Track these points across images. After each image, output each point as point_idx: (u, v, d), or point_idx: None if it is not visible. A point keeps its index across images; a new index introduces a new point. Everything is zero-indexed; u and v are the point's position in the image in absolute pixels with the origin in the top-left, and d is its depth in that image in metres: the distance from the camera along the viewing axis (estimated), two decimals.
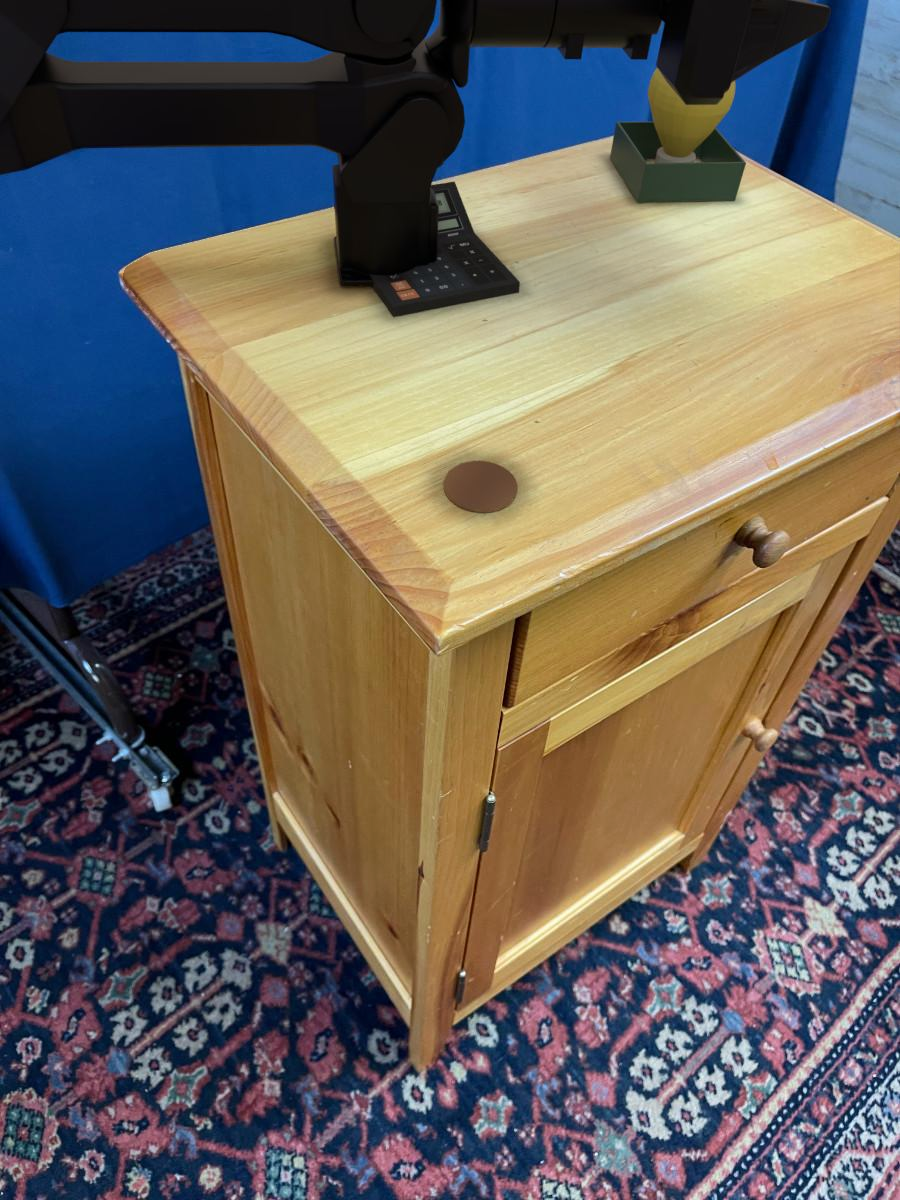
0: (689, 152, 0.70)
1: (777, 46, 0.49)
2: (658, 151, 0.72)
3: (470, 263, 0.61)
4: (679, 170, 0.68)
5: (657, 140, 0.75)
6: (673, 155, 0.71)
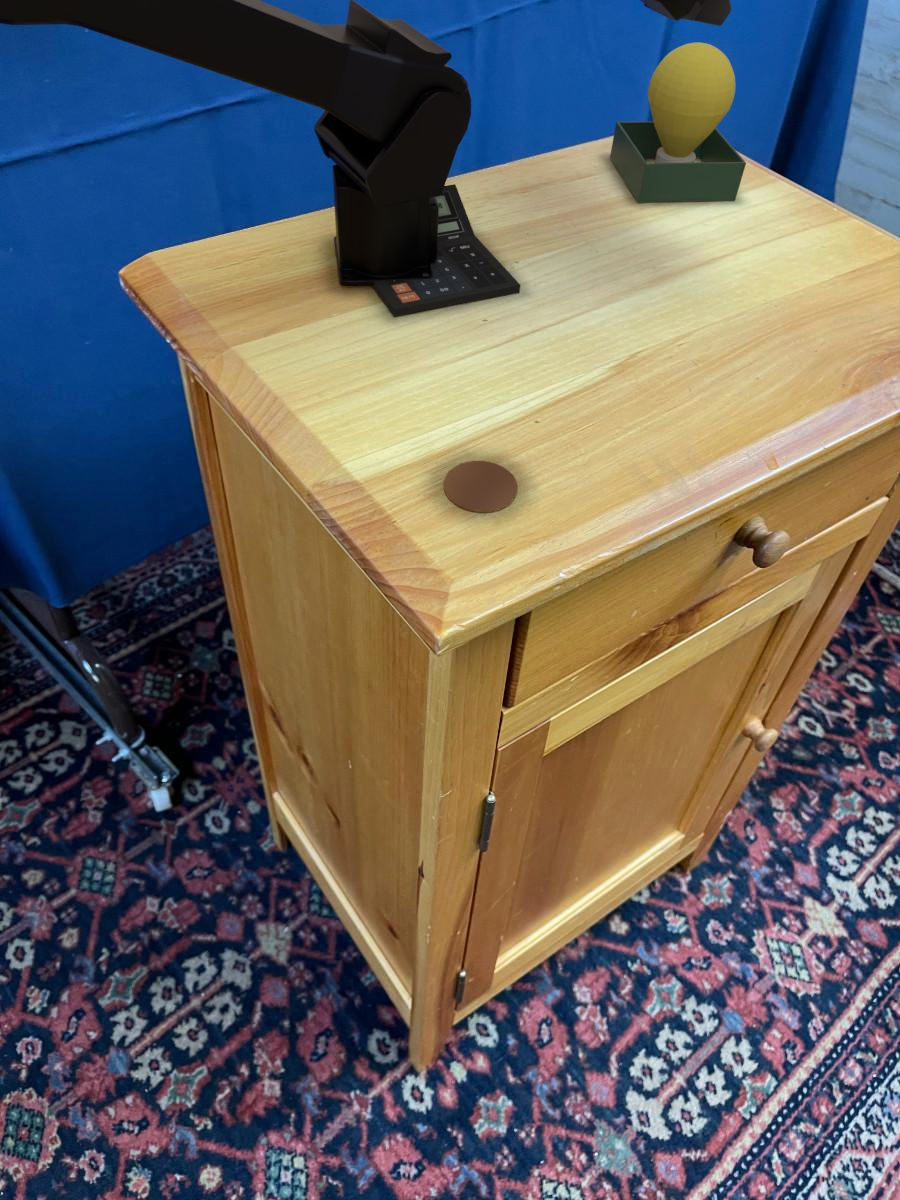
0: (689, 152, 0.70)
1: (700, 12, 0.54)
2: (658, 151, 0.72)
3: (471, 266, 0.61)
4: (679, 170, 0.68)
5: (657, 140, 0.75)
6: (673, 155, 0.71)
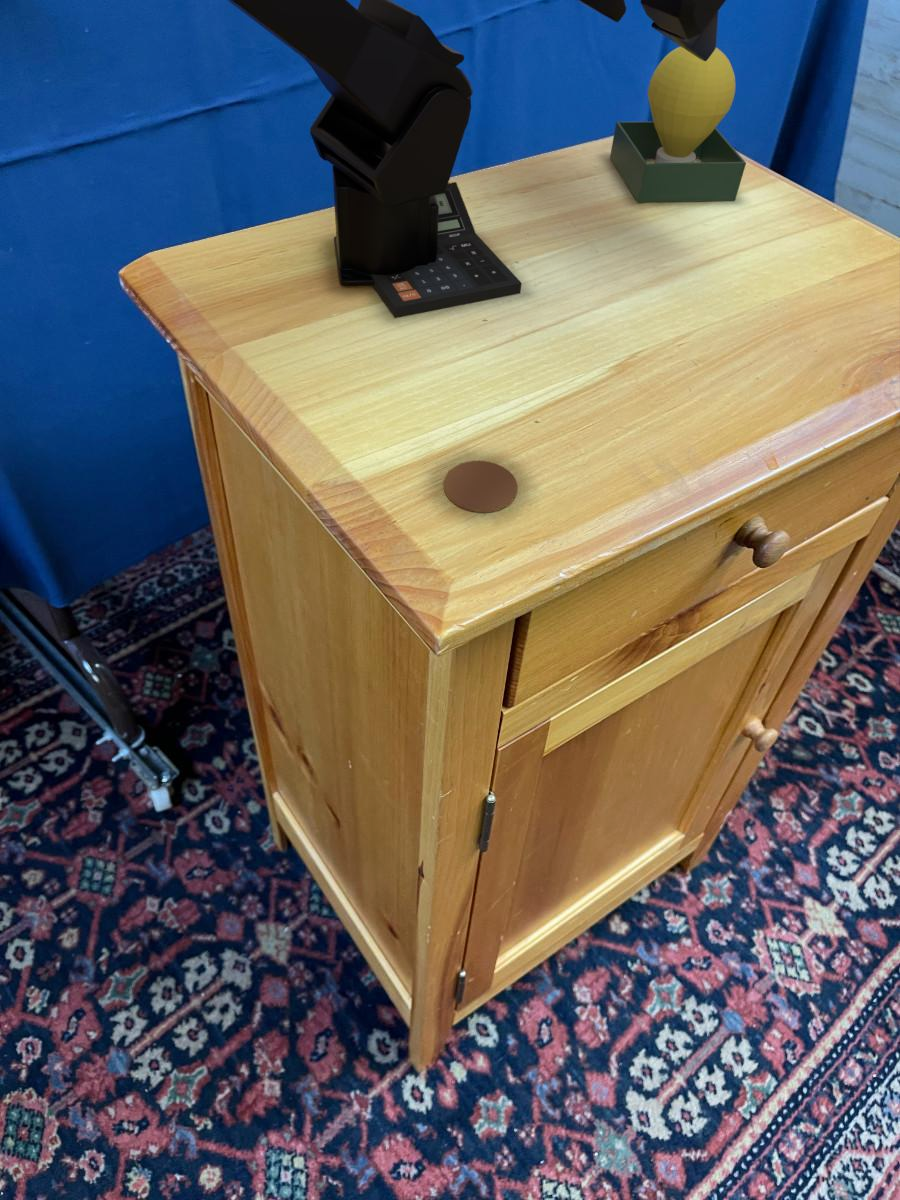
0: (689, 152, 0.70)
1: (695, 42, 0.58)
2: (658, 151, 0.72)
3: (472, 264, 0.61)
4: (679, 170, 0.68)
5: (657, 140, 0.75)
6: (673, 155, 0.71)
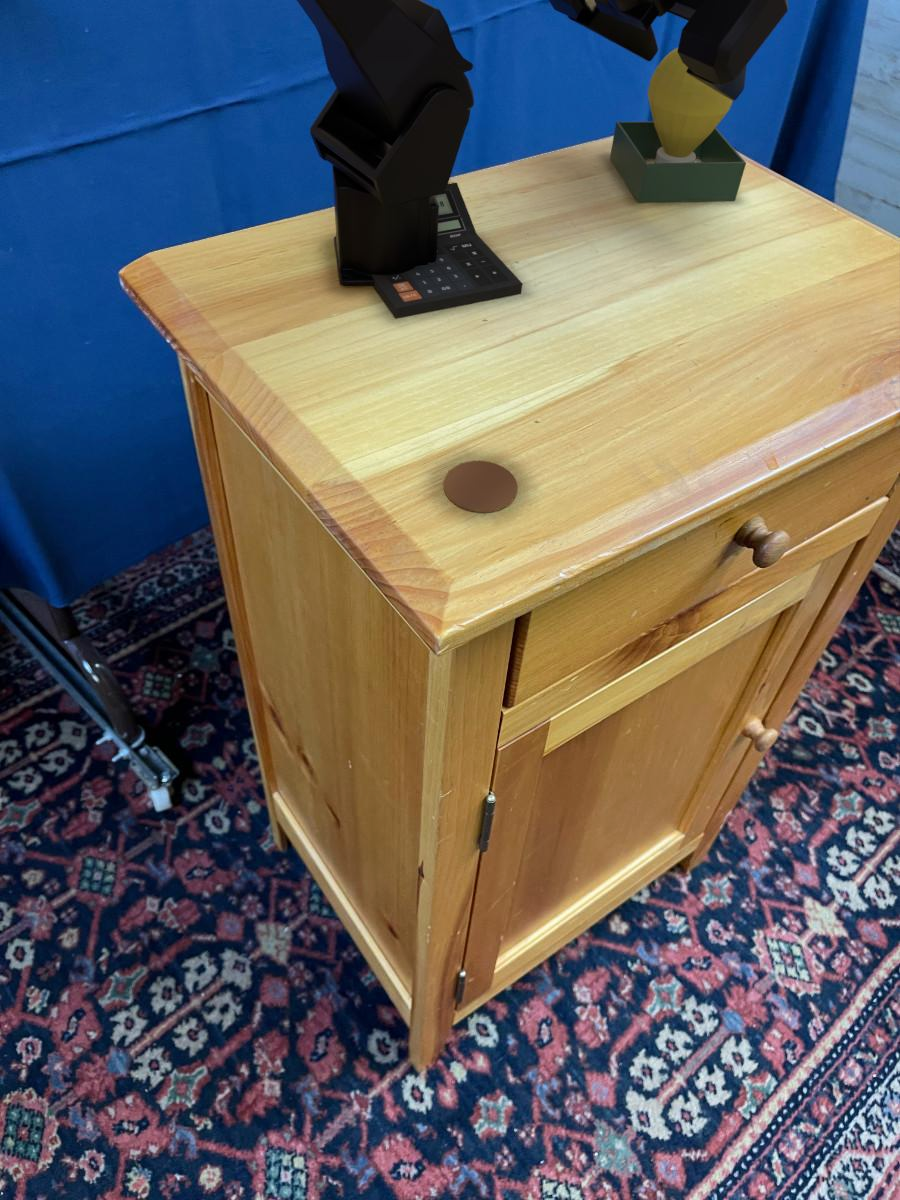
0: (689, 152, 0.70)
1: (726, 85, 0.62)
2: (658, 151, 0.72)
3: (472, 264, 0.61)
4: (679, 170, 0.68)
5: (657, 140, 0.75)
6: (673, 155, 0.71)
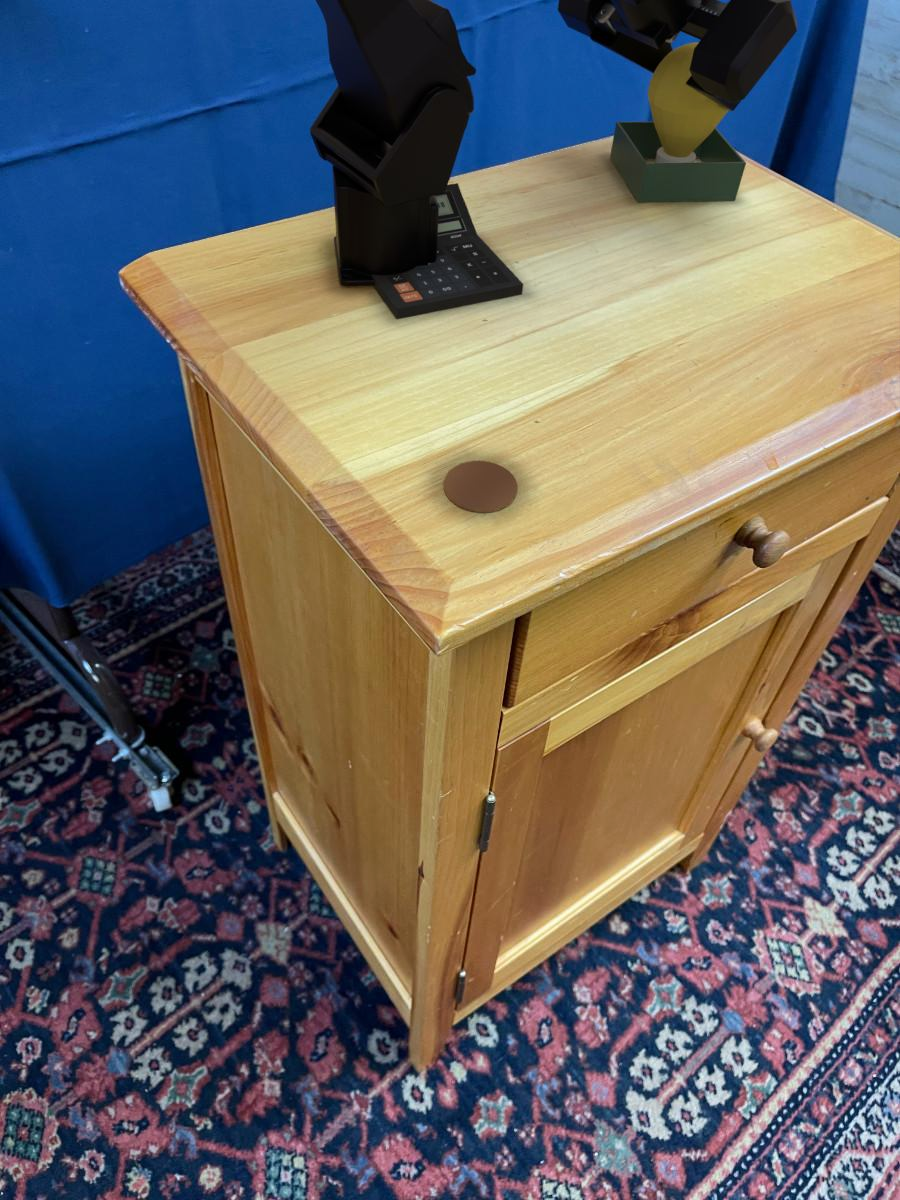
0: (689, 152, 0.70)
1: None
2: (658, 151, 0.72)
3: (473, 265, 0.61)
4: (679, 170, 0.68)
5: (657, 140, 0.75)
6: (673, 154, 0.71)
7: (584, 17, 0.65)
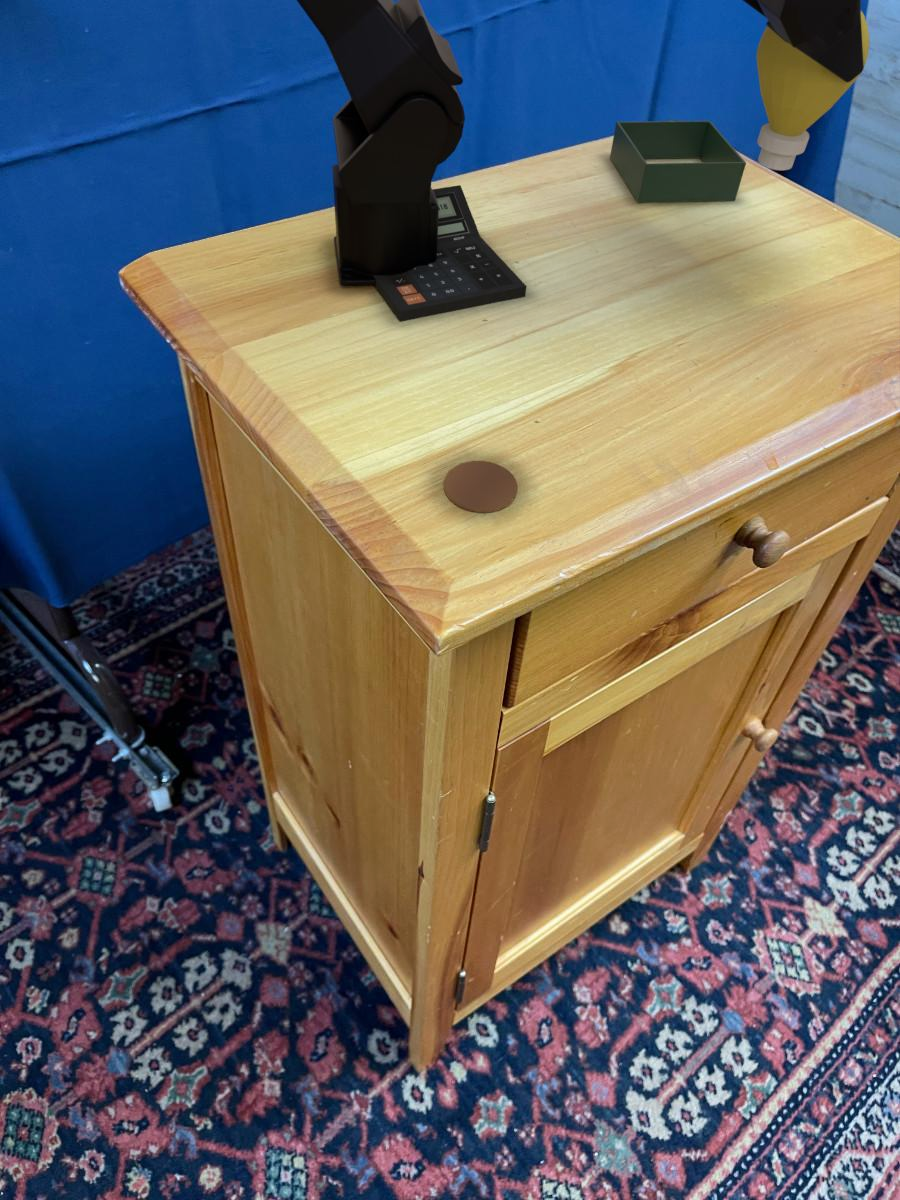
0: (794, 129, 0.57)
1: (825, 55, 0.51)
2: (764, 125, 0.59)
3: (476, 267, 0.61)
4: (679, 170, 0.68)
5: (657, 140, 0.75)
6: (775, 130, 0.58)
7: None
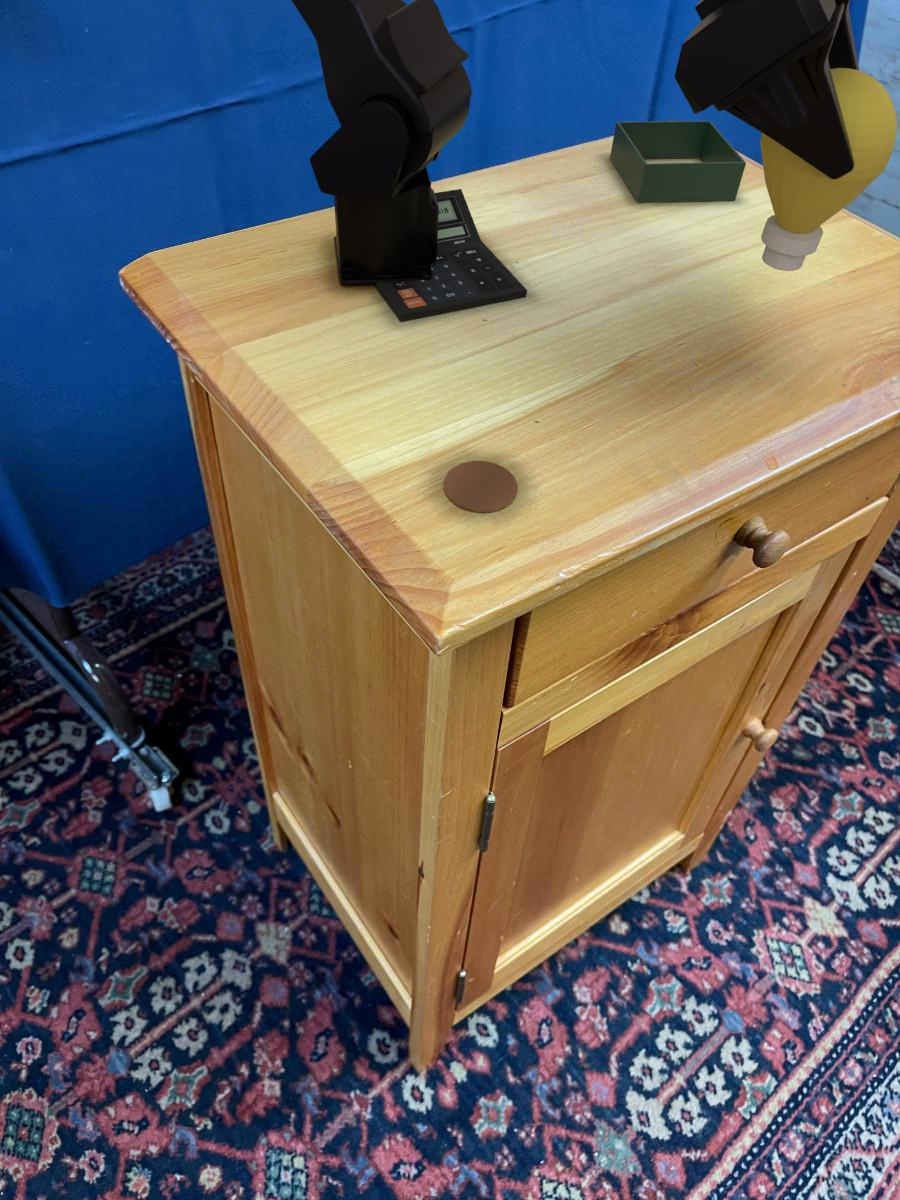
0: (792, 225, 0.48)
1: (791, 139, 0.42)
2: None
3: (477, 271, 0.61)
4: (679, 170, 0.68)
5: (657, 140, 0.75)
6: (777, 221, 0.49)
7: None
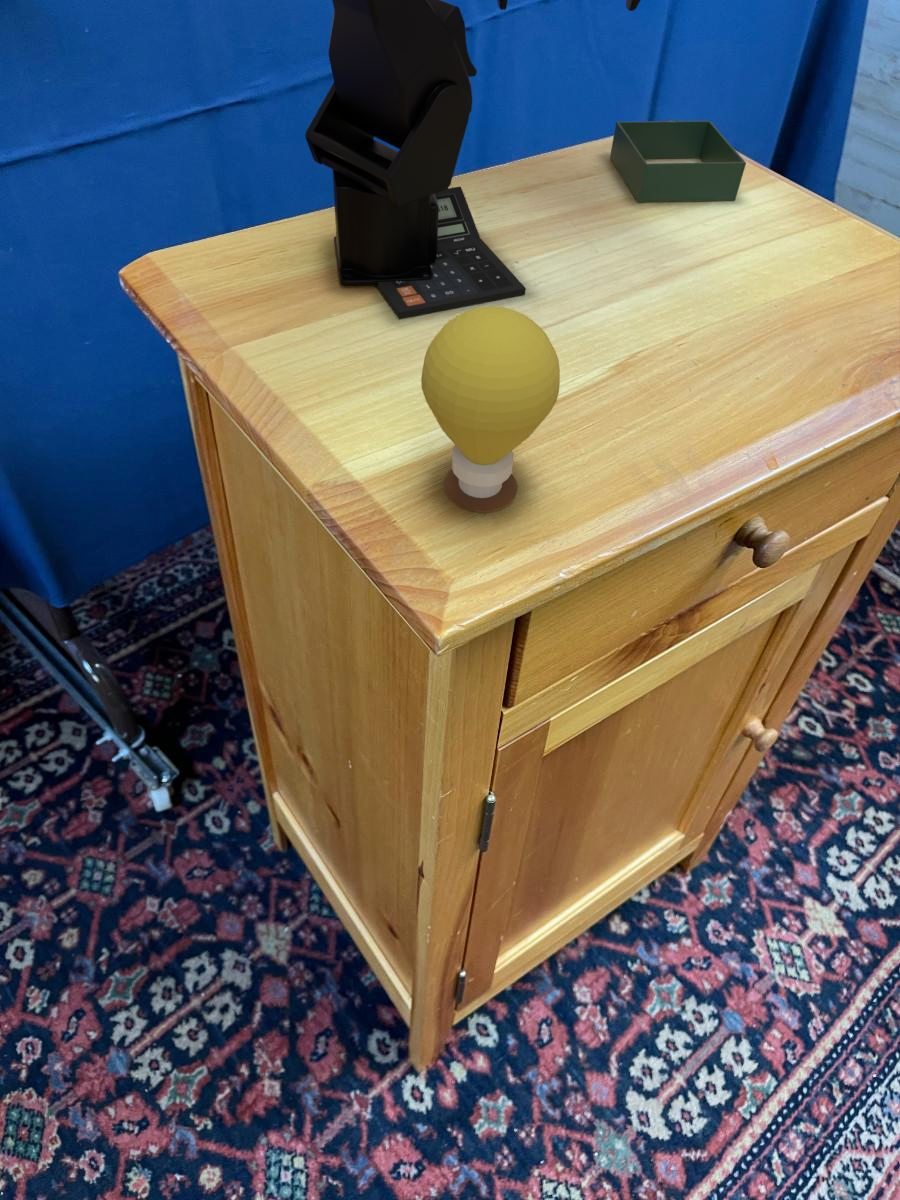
0: None
1: None
2: None
3: (476, 269, 0.61)
4: (679, 170, 0.68)
5: (657, 140, 0.75)
6: None
7: None
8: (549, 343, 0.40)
